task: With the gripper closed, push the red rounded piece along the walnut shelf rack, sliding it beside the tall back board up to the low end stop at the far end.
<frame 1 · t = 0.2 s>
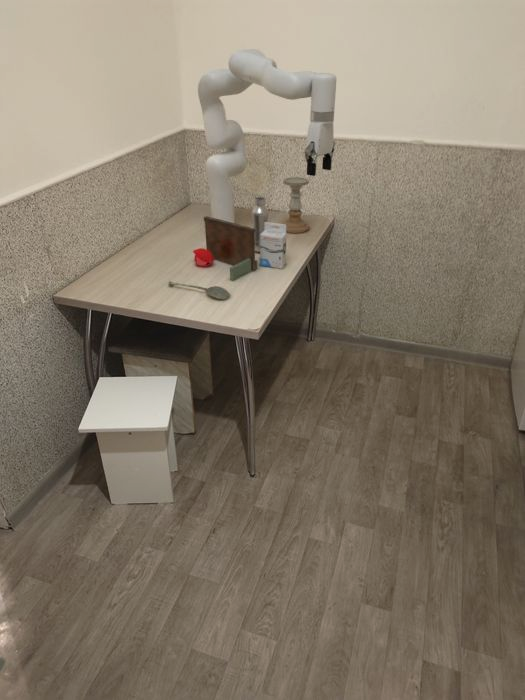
hand: (319, 172, 172), 31 cm above the table, tool pointing down, fingers open, 9 cm apart
red rounded piece: (203, 265, 184), on the table
candle holder: (294, 229, 217), on the table
silver metal bottle: (260, 251, 195), on the table
shelf rack: (217, 267, 182), on the table
soupspoon: (198, 292, 165), on the table
ink box: (272, 265, 184), on the table
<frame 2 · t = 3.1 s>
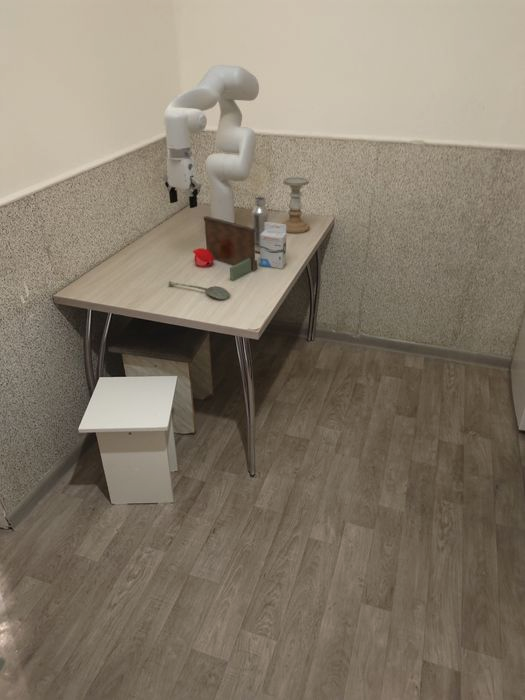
hand: (183, 204, 177), 20 cm above the table, tool pointing down, fingers open, 9 cm apart
nothing on the table moved.
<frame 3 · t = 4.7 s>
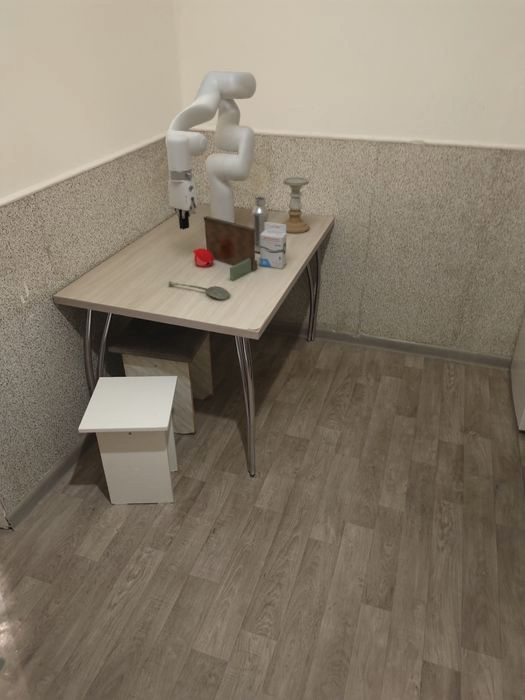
hand: (184, 228, 181), 12 cm above the table, tool pointing down, fingers closed
nothing on the table moved.
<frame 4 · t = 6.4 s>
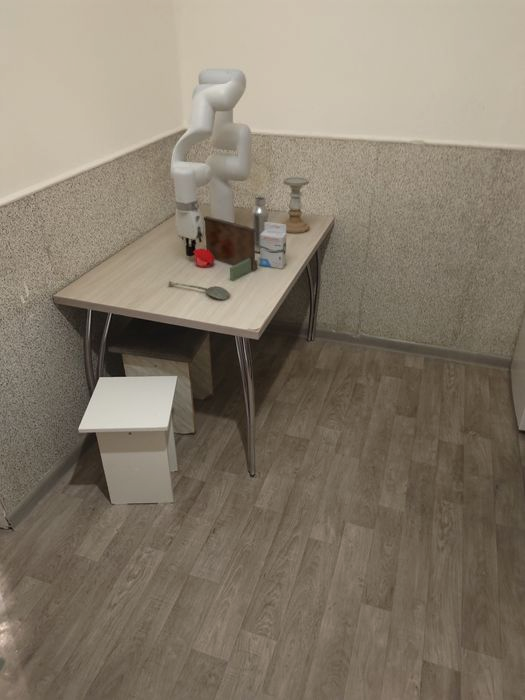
hand: (191, 255, 186), 2 cm above the table, tool pointing down, fingers closed
red rounded piece: (204, 265, 184), on the table, touching gripper
everything else where it was.
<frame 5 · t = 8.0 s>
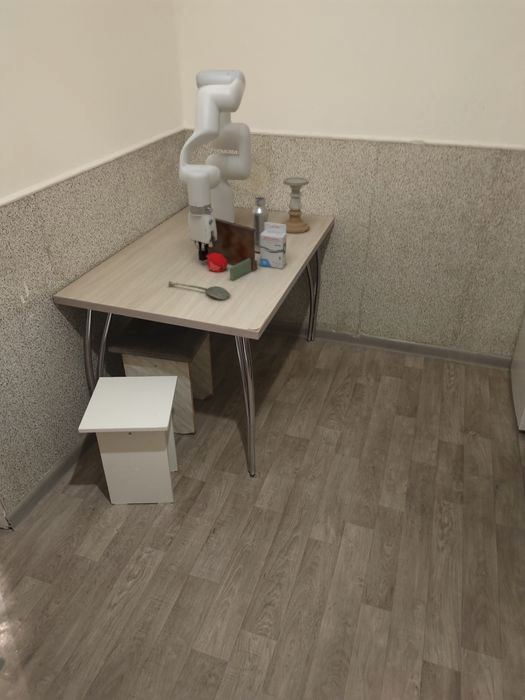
hand: (203, 259, 182), 2 cm above the table, tool pointing down, fingers closed
red rounded piece: (217, 269, 181), on the table, touching gripper
everything else where it was.
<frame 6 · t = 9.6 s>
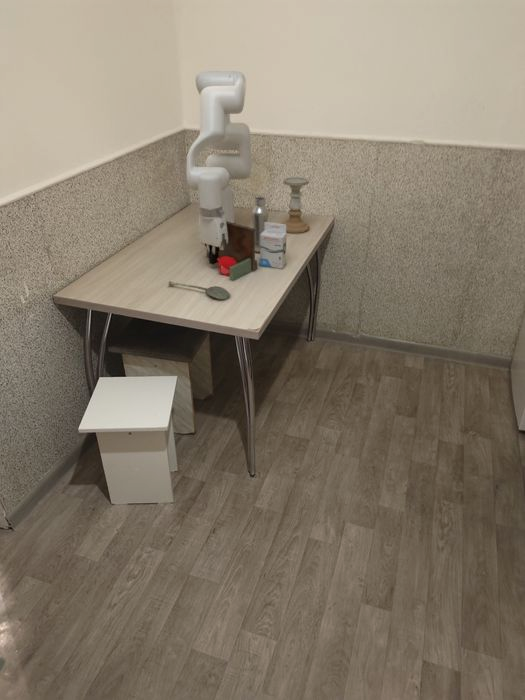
hand: (214, 262, 180), 2 cm above the table, tool pointing down, fingers closed
red rounded piece: (227, 273, 178), on the table, touching gripper
everything else where it was.
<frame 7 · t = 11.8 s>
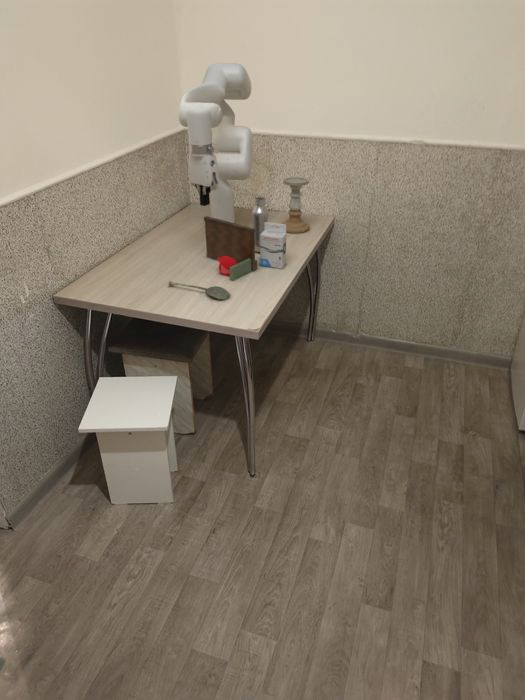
hand: (205, 204, 176), 21 cm above the table, tool pointing down, fingers closed
red rounded piece: (228, 273, 178), on the table
everything else where it was.
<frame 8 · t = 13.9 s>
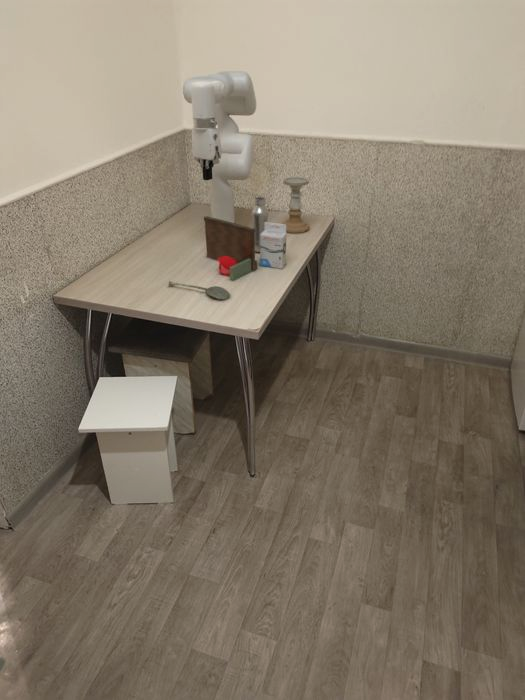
hand: (207, 179, 180), 27 cm above the table, tool pointing down, fingers closed
nothing on the table moved.
at the end: red rounded piece 0.7 cm from the target spot on the shelf rack, point 0.0 cm above the shelf rack's base; red rounded piece moved 11.8 cm from its start; red rounded piece tilted 0° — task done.
